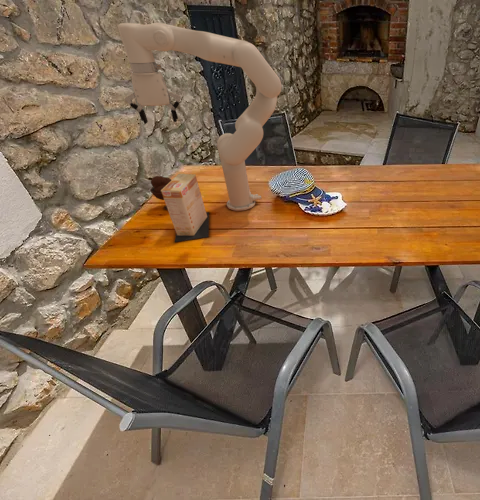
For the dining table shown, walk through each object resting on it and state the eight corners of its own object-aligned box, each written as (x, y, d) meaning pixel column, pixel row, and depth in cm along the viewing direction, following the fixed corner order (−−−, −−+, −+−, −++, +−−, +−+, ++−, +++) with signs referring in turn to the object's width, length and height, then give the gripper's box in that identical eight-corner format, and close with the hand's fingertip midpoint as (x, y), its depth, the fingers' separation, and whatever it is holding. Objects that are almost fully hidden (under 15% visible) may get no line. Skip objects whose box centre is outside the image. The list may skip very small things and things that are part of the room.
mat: (209, 212, 139) (208, 212, 139) (208, 237, 124) (208, 236, 124) (179, 216, 136) (178, 216, 136) (174, 242, 121) (174, 241, 120)
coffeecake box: (191, 216, 136) (178, 173, 124) (208, 216, 136) (196, 173, 124) (175, 235, 124) (159, 190, 112) (194, 236, 124) (179, 190, 112)
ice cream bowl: (174, 214, 137) (163, 182, 128) (152, 211, 139) (139, 179, 130) (189, 203, 146) (180, 172, 137) (167, 200, 147) (157, 169, 138)
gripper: (173, 66, 111) (187, 118, 121) (117, 67, 106) (136, 120, 116) (171, 69, 105) (186, 123, 115) (111, 70, 100) (132, 126, 110)
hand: (161, 122), depth 116 cm, fingers open, 9 cm apart
